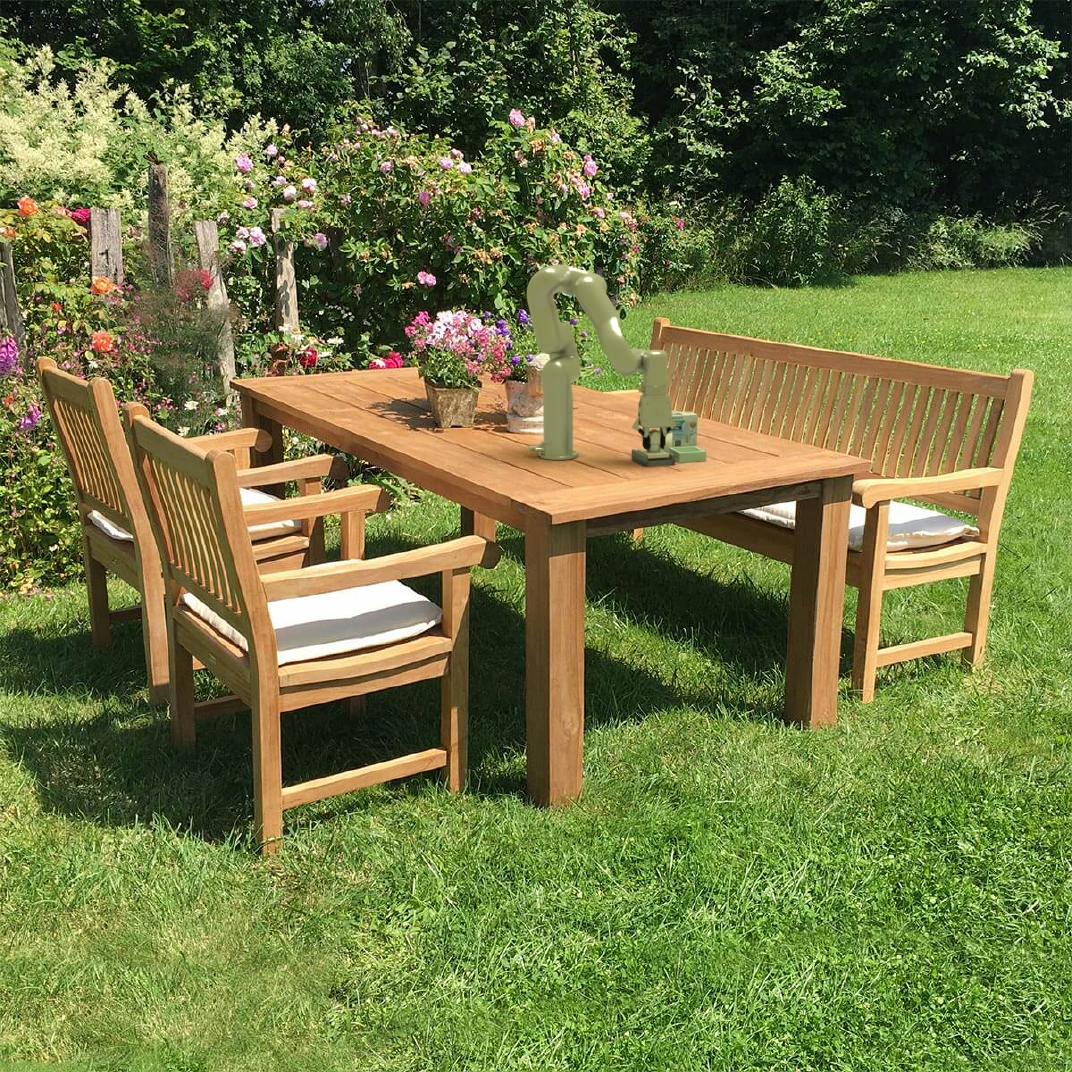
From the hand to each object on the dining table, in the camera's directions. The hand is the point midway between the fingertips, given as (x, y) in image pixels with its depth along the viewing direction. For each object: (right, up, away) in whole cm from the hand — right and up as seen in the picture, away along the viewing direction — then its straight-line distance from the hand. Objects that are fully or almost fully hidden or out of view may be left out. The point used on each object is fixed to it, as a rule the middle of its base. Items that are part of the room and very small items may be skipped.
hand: (653, 448), depth 375 cm
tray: (+11, -3, +5) cm, 13 cm away
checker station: (0, -4, +1) cm, 5 cm away
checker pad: (0, -2, +1) cm, 2 cm away
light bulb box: (+11, +3, +27) cm, 30 cm away
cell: (0, -1, 0) cm, 1 cm away
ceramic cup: (+4, -1, +13) cm, 14 cm away
